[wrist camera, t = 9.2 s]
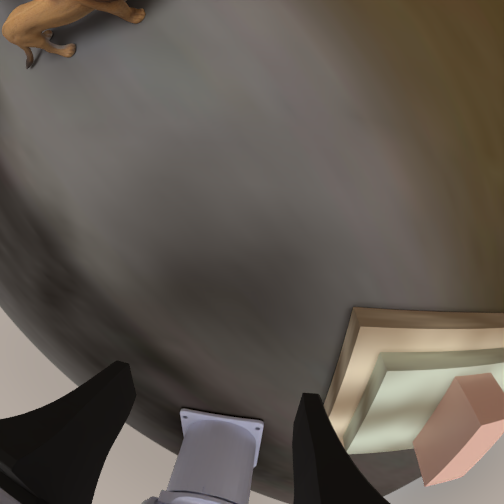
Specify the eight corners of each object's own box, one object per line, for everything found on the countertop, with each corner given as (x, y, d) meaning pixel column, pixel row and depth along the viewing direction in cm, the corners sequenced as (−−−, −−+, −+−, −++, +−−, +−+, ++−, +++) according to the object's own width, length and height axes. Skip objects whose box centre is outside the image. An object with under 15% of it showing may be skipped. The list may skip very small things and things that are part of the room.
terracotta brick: (447, 436, 19) (461, 477, 14) (412, 442, 19) (424, 486, 14) (490, 372, 16) (517, 415, 11) (455, 376, 16) (481, 425, 11)
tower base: (473, 414, 23) (486, 441, 19) (315, 428, 25) (316, 465, 21) (530, 312, 18) (554, 336, 14) (353, 306, 20) (367, 345, 16)
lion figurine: (178, -44, 12) (128, -110, 4) (194, 1, 14) (139, -70, 6) (29, 47, 15) (-46, 35, 7) (35, 94, 17) (-50, 93, 8)
